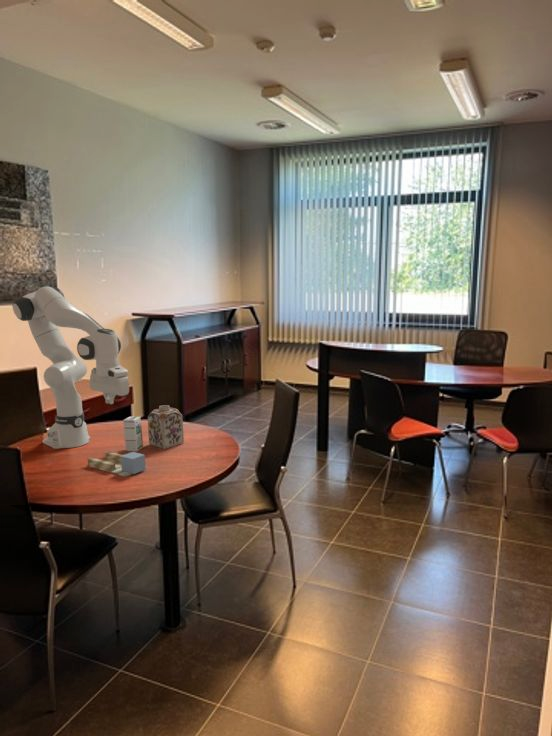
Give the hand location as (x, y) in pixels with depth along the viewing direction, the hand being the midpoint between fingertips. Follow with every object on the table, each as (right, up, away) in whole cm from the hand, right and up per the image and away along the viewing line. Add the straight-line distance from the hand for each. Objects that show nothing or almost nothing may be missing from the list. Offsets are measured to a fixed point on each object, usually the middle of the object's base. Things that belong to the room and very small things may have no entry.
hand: (109, 403), depth 215 cm
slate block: (+11, -27, -5) cm, 29 cm away
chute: (+2, -26, +1) cm, 26 cm away
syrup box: (+4, -22, +23) cm, 32 cm away
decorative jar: (+17, -21, +30) cm, 40 cm away
